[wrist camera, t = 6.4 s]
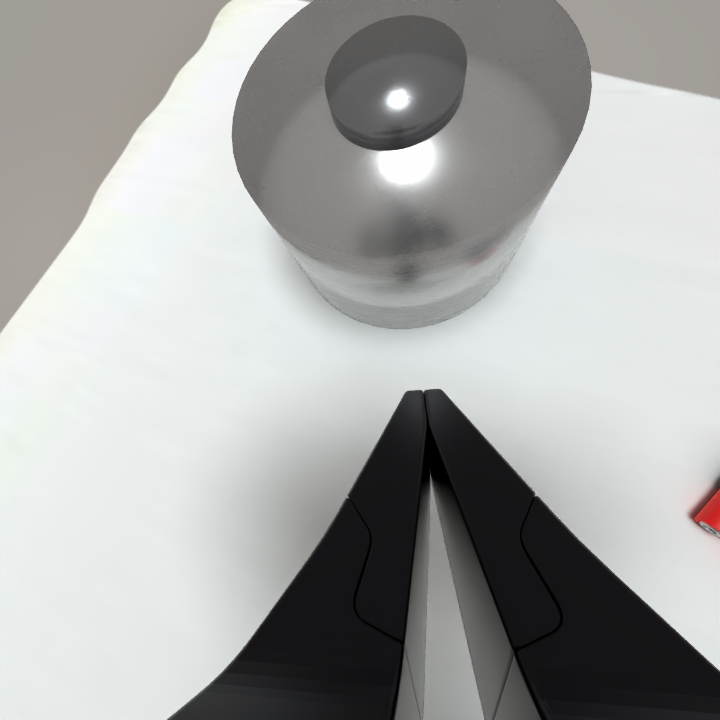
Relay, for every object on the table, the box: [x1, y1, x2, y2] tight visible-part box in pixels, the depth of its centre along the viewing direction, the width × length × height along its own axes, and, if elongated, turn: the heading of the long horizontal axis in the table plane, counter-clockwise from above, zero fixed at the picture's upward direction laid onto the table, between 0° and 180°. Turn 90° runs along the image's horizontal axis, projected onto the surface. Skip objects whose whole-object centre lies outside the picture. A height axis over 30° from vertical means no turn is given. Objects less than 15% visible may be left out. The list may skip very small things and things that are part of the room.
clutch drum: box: [232, 0, 592, 329], centre depth 19 cm, size 16×16×11 cm
